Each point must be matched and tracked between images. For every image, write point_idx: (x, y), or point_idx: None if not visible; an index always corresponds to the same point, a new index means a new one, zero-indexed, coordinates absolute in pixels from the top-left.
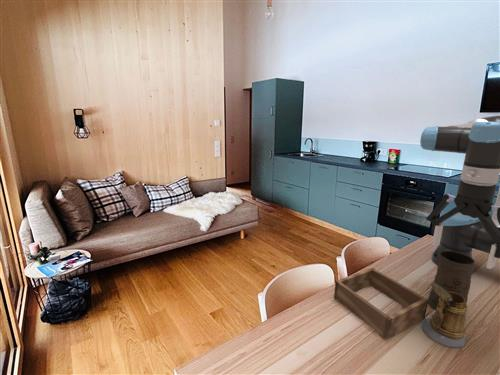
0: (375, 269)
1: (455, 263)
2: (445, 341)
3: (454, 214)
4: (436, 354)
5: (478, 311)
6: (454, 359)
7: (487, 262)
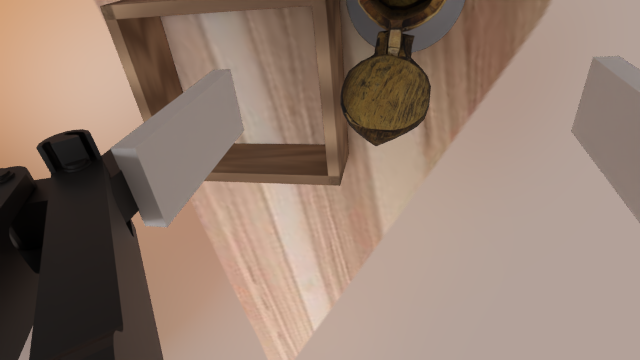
0: (113, 6)
1: None
2: (430, 33)
3: (139, 332)
4: (435, 89)
5: None
6: (470, 62)
7: (587, 151)
